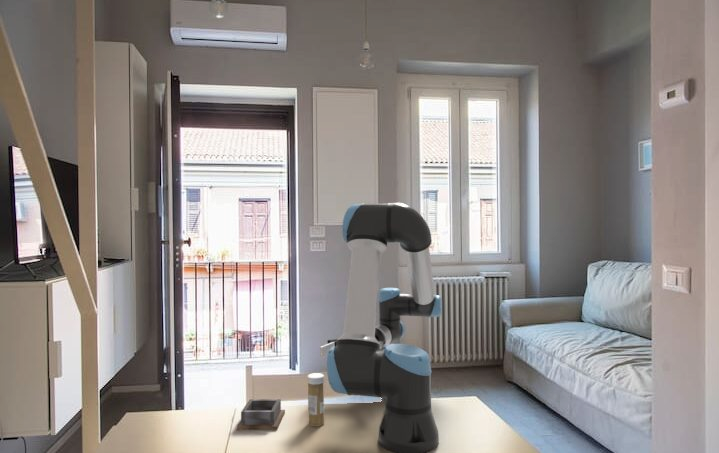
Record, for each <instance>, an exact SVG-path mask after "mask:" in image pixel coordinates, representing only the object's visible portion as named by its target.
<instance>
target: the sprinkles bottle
mask: <svg viewBox="0 0 719 453" xmlns="http://www.w3.org/2000/svg"><path fill="white" fill-rule="evenodd" d="M324 382H325V375H324V373H319V372H315V373H310V374H308V375H307V387H308V388H307V390H308V391H307V392H308V393H307V400H308V402H307V406H308V408H307V409H308V410H307V411H308V423H307V424H308V425H309V426H310V427H314V428H315V427H321V426H323V425H324V424H325V400H324V396H325V395H324Z"/></svg>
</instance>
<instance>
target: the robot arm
mask: <svg viewBox="0 0 719 453" xmlns="http://www.w3.org/2000/svg"><path fill="white" fill-rule="evenodd" d="M341 228H342V231H341V233H342V238H343V241H344V242H345V243H347V247H348V249H349V250H350V251H351V256H350V265H349V266H350V267H349V275H348V287H347V292H346V293H347V294H346V295H347V296H346V305H345V314H344V321H343V322H344V324H343V332H342V335H340V336H339V337H338V338H334V339H327V340H326V341H327V342H326V344H324V345H322V346H319V356H320V357H323V356H326V355H327V357H326V375H327V380H328V384H329V386H330V388H331V389H332V391H334V392H335V393H337V394H342V395H348V396H361V397H362V396H363V397H370V398H371V397H373V398H383V399H384V400H385V403H384V404H385V405H384V408H385V409H384V412H383V415H382V417H381V418H382V419H381V422H380V424H379V427H378V442H379V444H380V445H381V446H382V447H384V448H385V449H387V450H389V451H390V452H394V453H428V452H430V451H432V450H434V449H436V447H437V446H438V445H439V439H440V438H439V430H438V427H437V424H436V421H435V417H434V415H433V412H432V384H431V381H432V380H431V379H432V378H431V376H432V368H431V358H430V355H429V353H428V352H427V351H426V350H425V349H422V348H420V347H418V346H415V345H412V344H411V345H410V344H407V343H396V342H398V341H401V339H402V338H404V336H405V333H406V326H405V324H404V323H403V321H402V320H401V316H402V317H403V316H404V317H424V318H438V317H441V316H442V311H443V309H442V308H443V302H442V301H443V299H442V297H441V295H439V294H438V295H437V294H435V287H434V278H433V270H432V260H431V253H430V248H431V245H432V241H433V240H432V233H431V230H430V227H429V225H428V223H427V221H426V219H424V216H422V215H421V214H420V212H418V210H416V209H415V208H413V207H412V206H410V205H407V204H405V203H403V202H387V203H366V202H363V203H359V204H356V203H355V204H352V205H350V206H349V207H348V208H347V209H346V211H345V212H344V215H343V221H342V227H341ZM388 243H389V244H390V243H399V245H400V248H401V249H402V250H403V251H404V257H405V261H406V267H407V273H408V279H409V285H410V290H411V294H410V293H407V294H406V293H401V290H400V289H399V288H397V287H384V288H381V289H380V290H379V286H380V274H381V273H380V272H381V262H382V261H381V260H382V254H383V253H385V252H386V251H387V249H388V248H387V247H388ZM377 310H378V312H377ZM377 313H379V314H378V315H379V316H378V318H379V320H378V323H379V324H378V325H376V322H377Z"/></svg>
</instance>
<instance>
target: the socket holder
mask: <svg viewBox="0 0 719 453" xmlns="http://www.w3.org/2000/svg"><path fill="white" fill-rule="evenodd" d="M281 401H282V400H281V398H274V399H273V398H272V399H271V398H268V399H267V398H261V399H260V398H256V399H255V398H250V399H249V400H248V402H247V403H246V404H245V406H244V407H243V409H242V410H241V412H240V420H239V422H238V424H237V425H236V429H235V430H236V431H278V429H279V427H280V425H281V422H282V421H283V418H284V416H285V414H286V410H285V409H282V406H281V405H282V402H281Z"/></svg>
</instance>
